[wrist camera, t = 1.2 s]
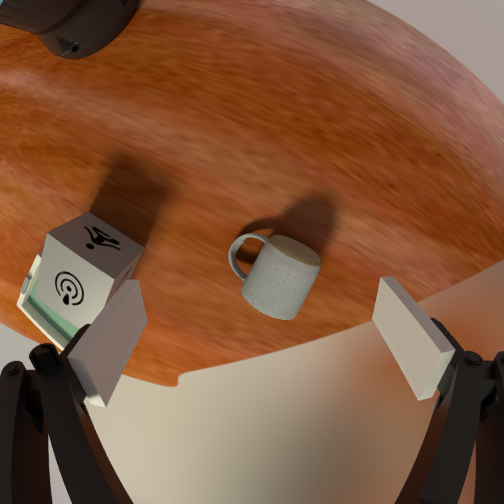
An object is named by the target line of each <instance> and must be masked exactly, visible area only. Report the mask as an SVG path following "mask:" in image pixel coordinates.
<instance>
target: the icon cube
mask: <svg viewBox="0 0 504 504" xmlns="http://www.w3.org/2000/svg"><path fill="white" fill-rule="evenodd" d="M144 249H145V247H143V246H141V245H140V244H138V243H137V242H135V241H133V240H132V239H130V238H129V237H127V236H125V235H124V234H122V233H121V232H119V231H117V230H116V229H114V228H113V227H111V226H110V225H108V224H106V223H105V222H103V221H102V220H100V219H99V218H97V217H96V216H94V215H93V214H91V213H90V212H87V213H85V214H83V215H81V216H79V217H77V218H75V219H73V220H71V221H69V222H67V223H65V224H63V225H61V226H59V227H57V228H55V229H54V230H52V231H50V232H48V233H47V236H46V240H45V244H44V249H43V253H42V258H41V263H40V268H39V273H38V279H37V285H36V291H35V297H37V298H38V299H39V300H40V301H42V302H43V303H44V304H46V305H47V306H48V307H50V308H51V309H52V310H54V311H55V312H56V313H58V314H59V315H60V316H62V317H63V318H64V319H66V320H67V321H69V322H70V323H72V324H73V325H74V326H76V327H77V328H79V329H80V328H81V327H83V326H84V325H86V324H92V322H93V321H94V320H95V318H96V317H97V316H98V315H99V313H100V312H101V311H102V309H103V308H104V307H105V306H106V304H107V303H108V302H109V300H110V299H111V298H112V297H113V295H114V294H115V293H116V292H117V290H118V289H119V288H120V287H121V286H122V284H123V283H124V282H125V281H126V279H127V280H130V279H131V277H132V274H133V272H134V270H135V268H136V266H137V263H138V261H139V259H140V257H141V255H142V253H143V251H144Z"/></svg>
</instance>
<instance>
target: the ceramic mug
mask: <svg viewBox="0 0 504 504" xmlns="http://www.w3.org/2000/svg"><path fill="white" fill-rule="evenodd" d="M247 237H254V238H257V239H260V240H261V241H263V242H265V244H264V246H263V247H262V249H261V251H260V253H259V255H258V258H257V259H256V261H255V263H254V264H253V266H252V268H251V270H250V272H249V273H248V275H246V274H245V273H244V272H243V271H242V270H241V269H240V268H239V266H238V265H237V262H236V259H235V256H236V252H237V251H238V249H239V247H240V246H241V244H242V243H244V242H245V239H246V238H247ZM228 258H229V262H230V265H231V267H232V269H233V271H234V272H235V273H236V274H237V276H238V277H239V278H241V279H242V280H243V281H244V283H243V285H242V287H241V293H242V295H243V297H244V298H245V299H246V300H247V301H248V302H249V303H250V304H251V305H252V306H253V307H255V308H256V309H257V310H259V311H261V312H262V313H264V314H266V315H269V316H271V317H274V318H278V319H283V320H289V319H292V318H294V317H295V316H296V315H297V313H298V311H299V309H300V307H301V305H302V303H303V302H304V300H305V298H306V296H307V294H308V292H309V290H310V288H311V286H312V284H313V282H314V280H315V279H316V277H317V275H318V272H319V269H320V266H321V259H320V257H319V255H318V254H317V253H316V252H315V251H313V250H312V249H310V248H309V247H307V246H306V245H304V244H302V243H300V242H298V241H296V240H294V239H292V238H289V237H286V236H283V235H273V236H271V237H270V238H269V239H268V238H267V237H265V236H264V235H261V234H257V233H247V234H244V235H241V236H240V237H238V238H237V239H236V240H235V241H234V242H233V244H232V245H231V247H230V250H229V255H228Z"/></svg>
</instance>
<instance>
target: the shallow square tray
mask: <svg viewBox="0 0 504 504" xmlns="http://www.w3.org/2000/svg"><path fill="white" fill-rule="evenodd" d="M37 279H38V277H37ZM37 279H36V281H35V283H34V286H33V288H32V290H31V293H30V295H29V297H28V300H27V301H28V302H29V303H30V304H31V305H32V306H33V307H34V308H35V309H36V310H37V311H38V313H39V314H40V315H41V316H42V317H43V318H44V319H45V320H46V321H47V322H48V323H49V324H50V325H51V326H52V327H53V328H55V329H56V330H57V331H58V332H59V333H60V334H61V335H62V336H63V337H64V338H65V339H66V340H67V341H68V342H70V340H71V339H72V338H73V337H74V335H75V334H76V332H77V331H78V330H79V328H77V327H76V326H74V325H73V324H72V323H70V322H69V321H67V320H66V319H64V318H63V317H62V316H60V315H59V314H58V313H56V312H55V311H54V310H52V309H51V308H50V307H48V306H47V305H46V304H44V303H43V302H42V301H40V300H39V299H38V298H37V297H35V291H36V285H37Z"/></svg>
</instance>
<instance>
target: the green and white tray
mask: <svg viewBox="0 0 504 504" xmlns="http://www.w3.org/2000/svg"><path fill="white" fill-rule="evenodd" d="M42 253H43V251H41V252H40V253H38V254H37V256H36V258H35V260H34V263H33V265H32V267H31V269H30V272H29V274H28V276H27V277H26V278H25V281H24V283H23V286H22V288H21V291H20V292H21V294H20V297H19V300H18V303H17V306H18V307H19V308H20V309H21V310H22V311H23V312H24V314H25V315H26V316H27V317H28V318H29V319H30V320H31V321H32V322H33V323H34V324H35V325H36V326H37V327H38V328H39V329H40V330H41V331H42V332H43V333H44V334H45V335H46V336H47V337H48V338H49V339H50V340H51V341H52V342H53V343H54V344H55V345H57V346H58V347H59V348H60V349H61V350H62V351H63V350H64V348H65V347H66V346H67V344H68V343H69V342H68V341H67V340H66V339H65V338H64V337H63V336H62V335H61V334H60V333H59V332H58V331H57V330H56V329H55V328H53V327H52V326H51V325H50V324H49V323H48V322H47V321H46V320H45V319H44V318H43V317H42V316H41V315H40V314H39V313H38V311H37V310H36V309H35V308H34V307H33V306H32V305H31V304H30V303H29V302H28V301H27V300H28V297H29V295H30V293H31V290H32V288H33V286H34V283H35V281H36V279H37V277H38V273H39V268H40V263H41V258H42Z"/></svg>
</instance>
